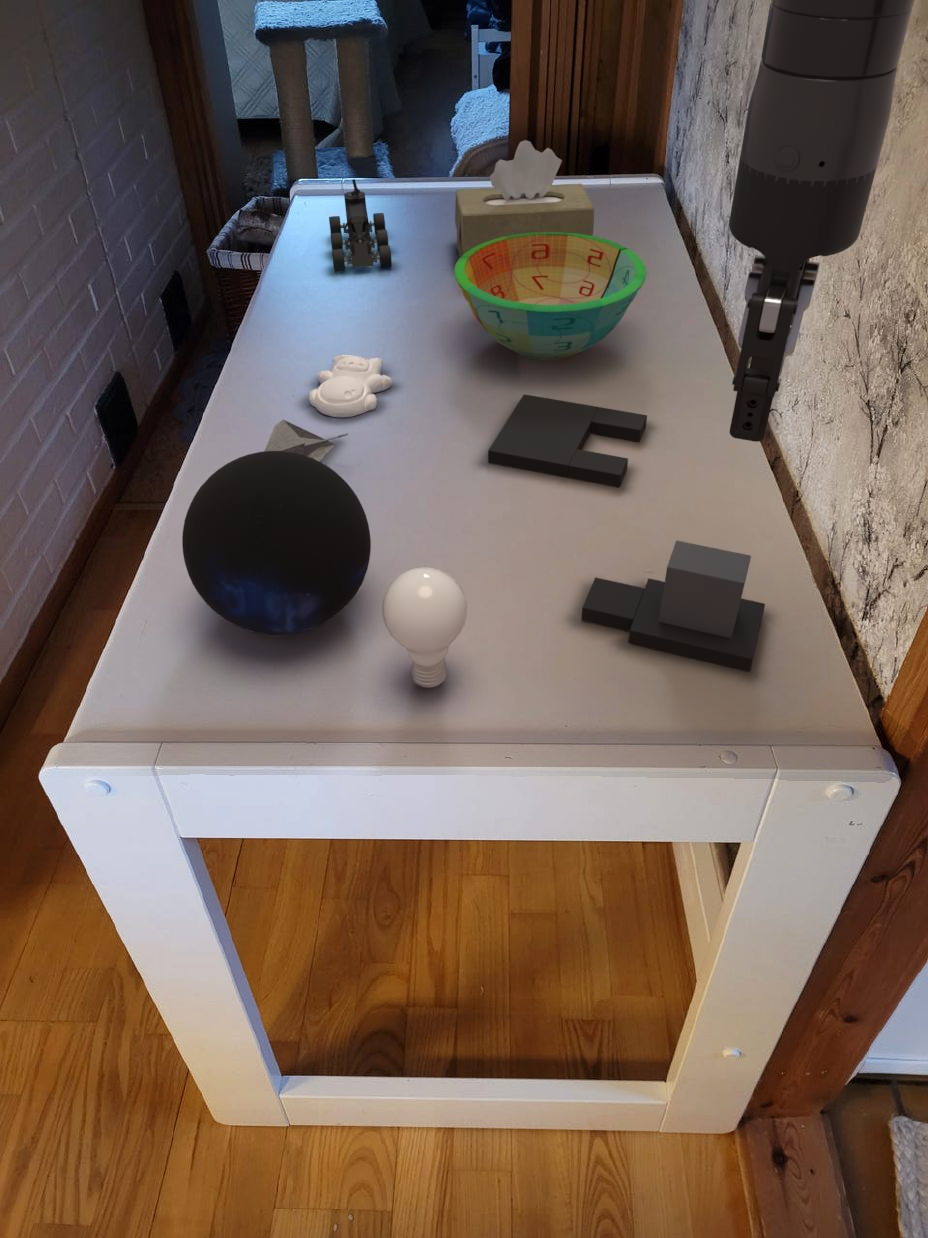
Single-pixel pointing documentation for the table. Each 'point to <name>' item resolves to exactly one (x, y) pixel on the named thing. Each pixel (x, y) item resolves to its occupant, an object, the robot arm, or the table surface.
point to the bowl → (549, 290)
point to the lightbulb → (425, 619)
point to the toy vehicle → (359, 235)
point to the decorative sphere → (276, 542)
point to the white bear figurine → (349, 386)
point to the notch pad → (564, 439)
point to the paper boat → (298, 441)
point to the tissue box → (522, 202)
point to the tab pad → (667, 637)
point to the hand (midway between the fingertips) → (755, 405)
